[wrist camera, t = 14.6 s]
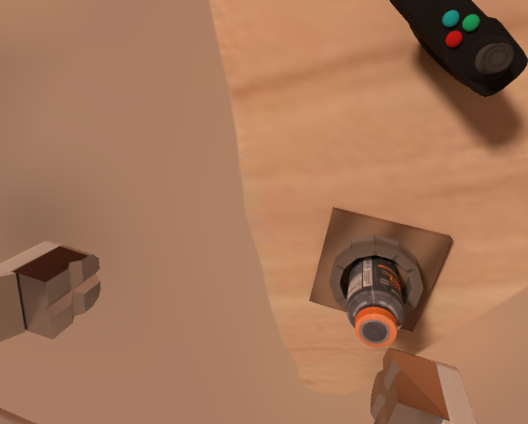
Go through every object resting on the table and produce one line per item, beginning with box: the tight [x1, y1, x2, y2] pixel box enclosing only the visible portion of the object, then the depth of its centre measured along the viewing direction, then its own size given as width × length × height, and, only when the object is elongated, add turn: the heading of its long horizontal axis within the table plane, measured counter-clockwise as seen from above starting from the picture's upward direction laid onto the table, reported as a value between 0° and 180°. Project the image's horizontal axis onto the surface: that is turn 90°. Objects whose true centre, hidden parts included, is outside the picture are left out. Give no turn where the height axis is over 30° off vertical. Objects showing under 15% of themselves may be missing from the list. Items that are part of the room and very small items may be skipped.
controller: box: [390, 0, 528, 97], centre depth 29 cm, size 4×12×10 cm, turn 48°
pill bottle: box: [347, 255, 405, 347], centre depth 38 cm, size 6×6×11 cm
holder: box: [309, 207, 452, 332], centre depth 43 cm, size 14×14×4 cm
